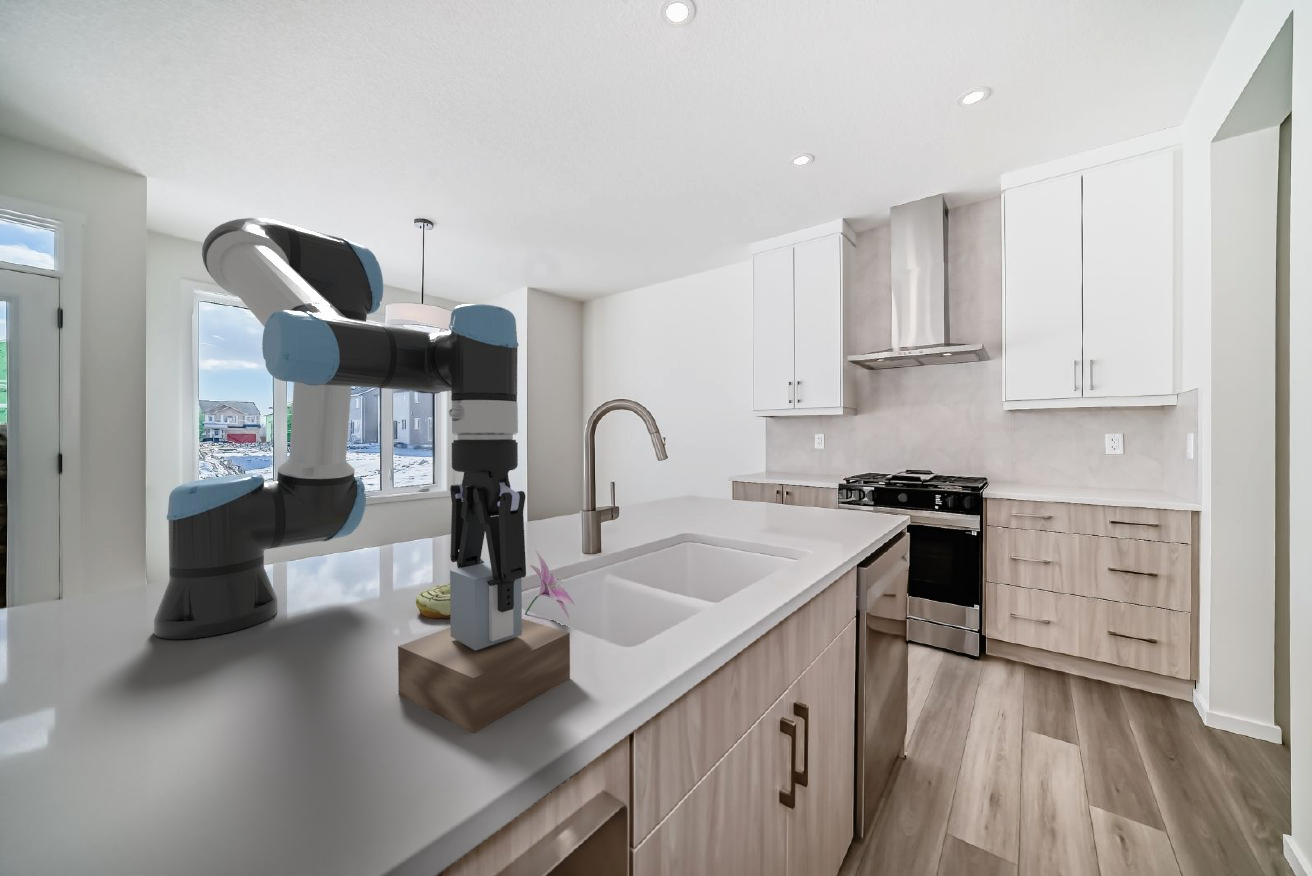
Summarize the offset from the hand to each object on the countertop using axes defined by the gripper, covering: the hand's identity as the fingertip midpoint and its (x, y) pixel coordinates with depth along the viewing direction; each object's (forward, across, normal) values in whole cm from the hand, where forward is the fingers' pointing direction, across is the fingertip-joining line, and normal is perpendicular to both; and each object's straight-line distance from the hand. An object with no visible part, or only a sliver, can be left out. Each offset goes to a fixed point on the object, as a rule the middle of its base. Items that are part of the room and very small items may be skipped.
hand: (486, 628), depth 62 cm
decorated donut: (+7, -29, +9) cm, 31 cm away
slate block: (+1, 0, 0) cm, 1 cm away
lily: (+7, -15, +20) cm, 26 cm away
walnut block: (+7, 0, 0) cm, 7 cm away
